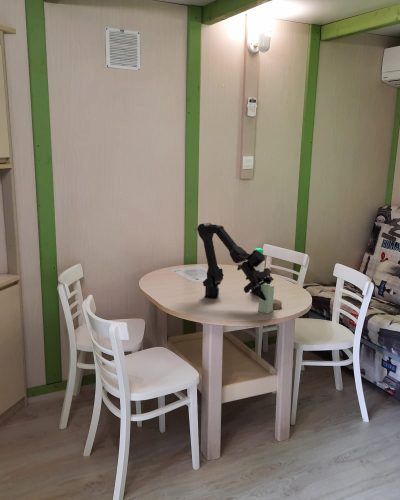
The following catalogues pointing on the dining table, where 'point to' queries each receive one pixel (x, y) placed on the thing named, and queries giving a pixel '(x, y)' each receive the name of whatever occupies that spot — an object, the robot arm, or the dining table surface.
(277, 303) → the walnut plinth
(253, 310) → the dining table surface
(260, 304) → the sage post
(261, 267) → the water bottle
